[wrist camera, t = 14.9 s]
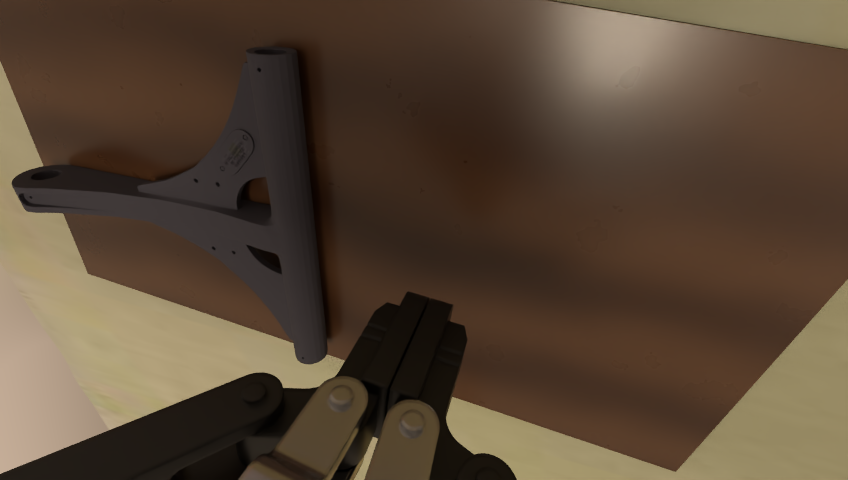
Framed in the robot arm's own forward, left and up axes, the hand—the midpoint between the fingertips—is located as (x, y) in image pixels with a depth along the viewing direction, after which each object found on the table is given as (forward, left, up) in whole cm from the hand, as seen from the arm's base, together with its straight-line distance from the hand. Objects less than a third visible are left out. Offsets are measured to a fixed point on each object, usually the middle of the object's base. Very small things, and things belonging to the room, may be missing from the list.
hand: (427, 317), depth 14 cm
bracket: (+1, -13, -5) cm, 14 cm away
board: (0, -5, -4) cm, 6 cm away
